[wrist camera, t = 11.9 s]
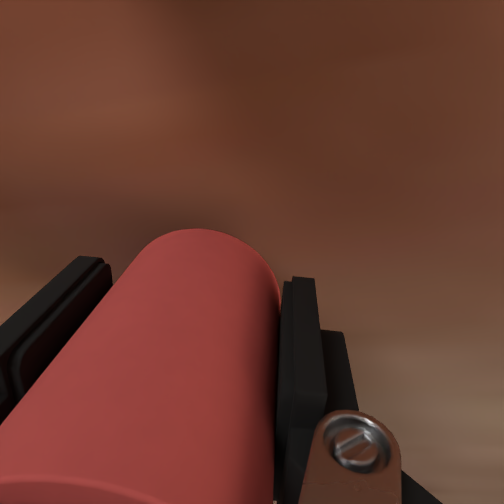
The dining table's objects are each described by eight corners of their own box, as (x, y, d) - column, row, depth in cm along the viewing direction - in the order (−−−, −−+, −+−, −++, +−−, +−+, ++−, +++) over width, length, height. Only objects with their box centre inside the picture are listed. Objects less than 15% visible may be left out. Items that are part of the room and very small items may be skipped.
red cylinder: (288, 235, 10) (286, 507, 4) (273, 367, 12) (256, 695, 6) (121, 220, 10) (-135, 454, 4) (132, 352, 12) (-32, 652, 6)
